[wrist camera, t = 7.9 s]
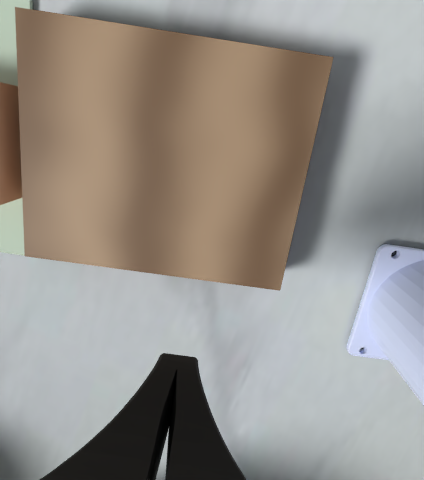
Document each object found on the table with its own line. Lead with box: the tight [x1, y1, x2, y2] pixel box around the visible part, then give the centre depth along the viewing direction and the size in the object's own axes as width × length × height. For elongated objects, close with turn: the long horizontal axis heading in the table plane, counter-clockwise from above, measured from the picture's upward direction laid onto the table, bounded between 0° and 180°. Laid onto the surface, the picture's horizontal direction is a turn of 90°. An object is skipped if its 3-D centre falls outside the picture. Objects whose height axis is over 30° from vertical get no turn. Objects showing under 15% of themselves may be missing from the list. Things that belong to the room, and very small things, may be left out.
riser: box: [15, 7, 333, 290], centre depth 18 cm, size 14×12×2 cm
